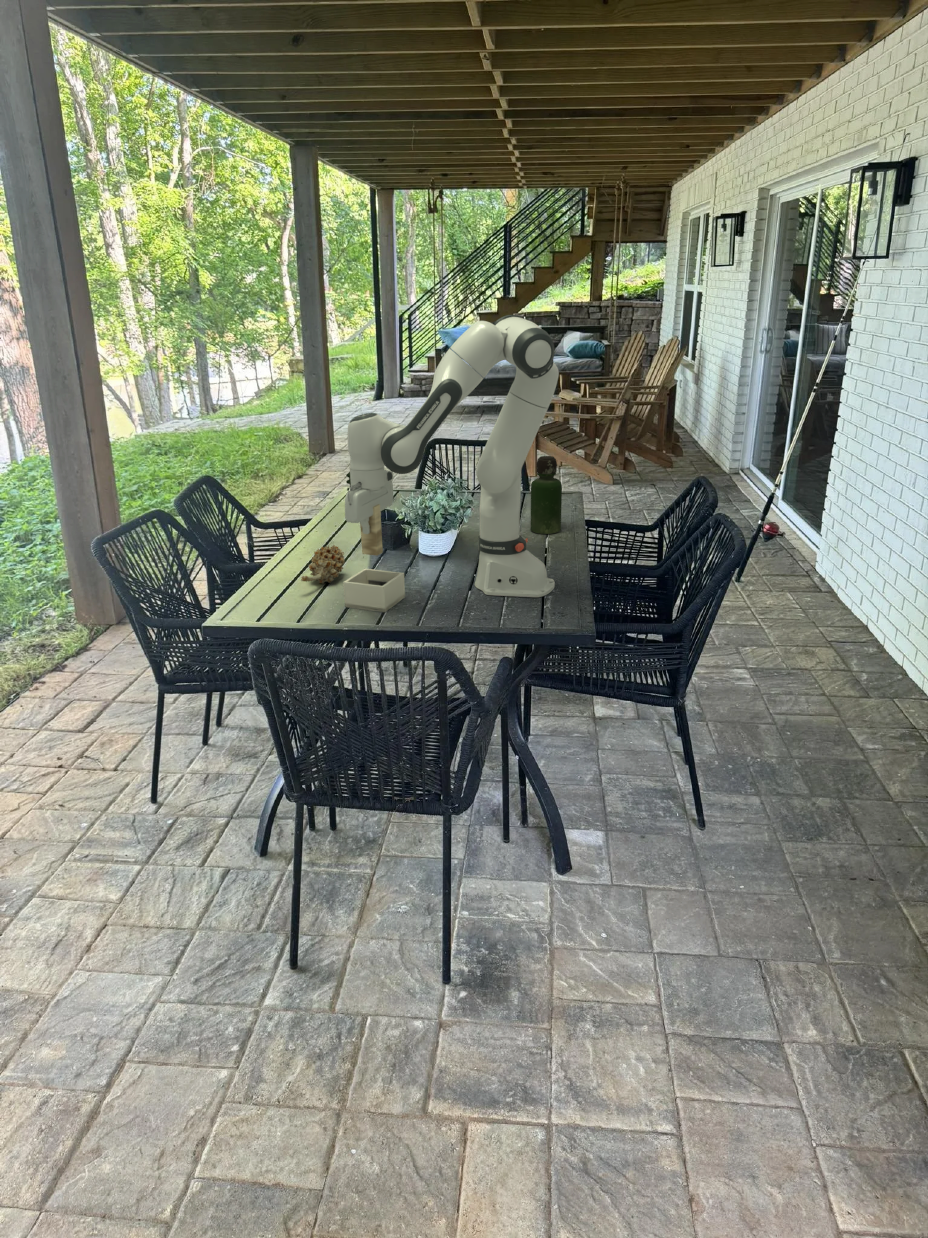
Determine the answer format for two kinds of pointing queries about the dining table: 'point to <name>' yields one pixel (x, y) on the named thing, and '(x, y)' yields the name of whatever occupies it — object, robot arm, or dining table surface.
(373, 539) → the tall tan wooden post
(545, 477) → the green bottle
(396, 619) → the dining table surface
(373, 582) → the clip
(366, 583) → the square planter tray
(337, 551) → the pine cone
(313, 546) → the dining table surface
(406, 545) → the dining table surface
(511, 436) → the robot arm
